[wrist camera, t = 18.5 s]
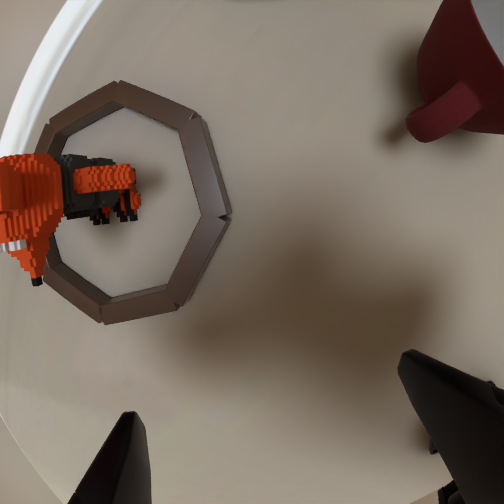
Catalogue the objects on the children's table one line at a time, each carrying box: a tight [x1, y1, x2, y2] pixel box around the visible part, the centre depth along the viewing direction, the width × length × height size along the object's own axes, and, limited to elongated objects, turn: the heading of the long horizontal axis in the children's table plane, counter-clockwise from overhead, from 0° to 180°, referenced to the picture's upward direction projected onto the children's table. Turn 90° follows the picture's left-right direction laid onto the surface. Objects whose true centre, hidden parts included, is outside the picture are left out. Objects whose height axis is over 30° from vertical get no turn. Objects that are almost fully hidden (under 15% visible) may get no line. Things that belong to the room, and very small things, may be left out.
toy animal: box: [0, 153, 141, 286], centre depth 13 cm, size 8×6×12 cm
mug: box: [406, 0, 504, 143], centre depth 11 cm, size 11×8×10 cm
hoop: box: [34, 80, 232, 325], centre depth 18 cm, size 15×15×2 cm
